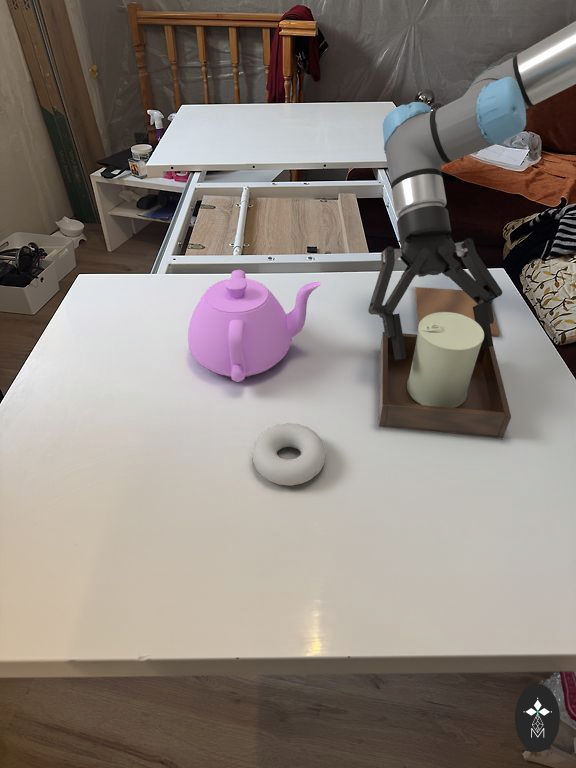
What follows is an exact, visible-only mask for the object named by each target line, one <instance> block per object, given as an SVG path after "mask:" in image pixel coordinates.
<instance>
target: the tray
mask: <svg viewBox="0 0 576 768" xmlns="http://www.w3.org/2000/svg"><path fill="white" fill-rule="evenodd" d="M402 333H403V339H404V346H405V352H406V358H405V359H401V360H396V361H395V358H394V351H393V345H392V339H391V338H386V336H385V331H382V334H381V341H380V348H379V382H378V383H379V384H378V385H379V387H378V388H379V389H378V390H379V391H378V392H379V393H378V394H379V395H378V399H379V400H378V427H381V428H389V429H390V428H391V429H402V430H410V431H411V430H412V431H423V432H432V433H433V432H434V433H444V434H454V435H466V436H475V437H485V438H496V439H504V437H505V433H506V431H507V430H508V426H509V424H510V422H511V419H512V414H511V411H510V410H511V409H510V407H509V402H508V398H507V393H506V390H505V386H504V382H503V377H502V373H501V370H500V366H499V362H498V358H497V354H496V350H495V345H494V344H493V346H491V347H487V348H482V349H480V350H479V353H478V356H477V360H476V363H475V366H474V369H473V373H472V376H471V379H470V383H469V386H468V390H467V397H466V400H465V401H464V402H463V403H462V404H461V405H460V406H458V407H456V408H450V407H439V406H428V405H421V404H419V403H418V402H416V401H415V400H414V399H413V398H412V397H411V396H410V395H409V393H408V390H407V381H408V379H409V376H410V371H411V367H412V362H413V356H414V351H415V346H416V341H417V335H418V333H417V334H416V333H406V332H405V333H404V332H402Z"/></svg>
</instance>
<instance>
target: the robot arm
mask: <svg viewBox="0 0 576 768" xmlns="http://www.w3.org/2000/svg"><path fill="white" fill-rule="evenodd" d="M574 85H576V20H575V21H573V22H572V23H569V24H568V25H566V26H565V27H563V28H561V29H559V30H557V31H556V32H554V33H553V34H551V35H549V36H547V37H545V38H543V39H542V40H540V41H539V42H537V43H535V44H533V45H532V46H530V47H528V48H526V49H524V50H523V51H521V52H520V53H518V54H517V55H515V56H514V57H513V56H512V57H511V58H509V59H508V60H506V61H504V62H502V63H501V64H499V65H494V66H491V67H489V68H487V69H485V70H484V71H483V72H481V73H479V74H478V75H476V77H475V78H474V79H473V80H472V82H471V83H470V85H469V88H468V89H467V91H466V92H465V93H464V94H463V96H461V97H459V98H457V99H455V100H453V101H451V102H449V103H447V104H445V105H443V106H440V107H439V108H436V109H435V110H432V109H431V107H430V105H429V104H427V103H425V102H422V101H412V102H410V103H408V104H401V105H399V106H397V107H395V108H393V109H392V110H391V111H390V112H388V114H387V115H386V116H385V118H384V119H383V122H382V135H383V150H384V154H385V158H386V159H385V160H386V164H387V170H388V175H389V180H390V188H391V195H392V201H393V207H394V214H395V216H396V218H397V221H396V227H397V234H398V240H399V244H400V248H394V247H393V246H391V245H389V246H387V247H386V248H385V249H384V250H383V251H382V252H381V254H380V259H381V261H380V263H381V267H380V271H379V274H378V277H377V280H376V283H375V286H374V289H373V292H372V296H371V299H370V301H369V306H368V309H367V312H368V314H369V315H377V316H378V317H379V318H381V319H382V325H383V330H384V331H383V332H385V336H386V338H391V339H392V345H393V351H394V358H395V361H396V360H401V359H405V358H406V352H405V346H404V339H403V333H404V332H403V328H402V322H401V315H400V313H394V312H395V310H396V309H397V307H398V305H399V304H400V302H401V300H402V298H403V297H404V295H405V293H406V292H407V290H408V289H409V287H410V285H411V283H412V282H413V280H414V278H415V277H416V276H418V277H419V278H423V277H426V276H438V275H440V274H443V276H444V277H446V278H449V279H450V280H451V281H452V282H453V283H454V284H456V285H457V287H459V288H460V290H463V291H464V292H465V293H466V294H468V295H469V296H470V297H471V298H472V299H473V300H474V301H475V302H476V303H477V304H478V305H476V306H474V307H473V312H474V318H475V322H477V323H478V324H479V325H480V326H481V328H482V329H483V331H484V340H483V342H482V344H481V347H480V349H482V348H487V347H491V346H493V345H494V340H493V336H492V334H491V328H490V324H493V322H494V317H495V316H494V317H493V313H494V310H493V311H492V309H493V306H492V303H493V301H494V300H496V299H497V298H499V297H501V296H502V295H503V289H502V287H500V285H499V284H498V283H497V281H496V280H495V278H494V277H493V275H492V273H491V272H490V270H489V268H488V267H487V266H486V264H485V263H484V262H483V260H482V259H481V257H480V255H479V253H478V252H477V250H476V247H475V243H474V240H473V239H472V238H471V237H469V238H466V239H464V240H463V241H459V242H454V241H453V239H452V227H451V222H450V215H449V210H448V208H446V206H447V203H448V202H447V197H446V190H445V186H444V179H443V172H442V167H443V166H444V165H446V164H449V163H450V164H451V163H452V162H454V161H457V160H460V159H462V158H464V157H467V156H470V155H472V154H474V153H477V152H480V151H482V150H485V149H488V148H490V147H493V146H495V145H496V146H497V145H501V144H502V143H504V142H505V141H507V140H509V139H512V138H513V137H515V136H517V135H519V134H521V133H522V132H524V130H525V128H526V126H527V113H526V112H527V111H526V110H527V109H529V108H531V107H533V106H535V105H537V104H538V103H541V102H542V101H545V100H547V99H548V98H550V97H551V98H552V96H555V95H556V94H558V93H560V92H563V91H564V90H566V89H569V88H571V87H573V86H574ZM455 253H456V255H457V257H460V258H461V261H462V262H463V264H464V266H465V267H466V269H467V270H468V272H469V273H468V272H467V271H466V269H464V268H463V267H462V265H461V263H460V261H458V260H457V259H456V258H455V257H454V255H455ZM399 259H400V261H402V262H403V264H405V266H406V268H405V269H404V270H403V273H402V274H401V276H400V278H399V280H398V281H397V284H396V285H395V287H394V289H393V290H392V292H391V293H390V295H389V297H388V298H387V300H386V302H385V304H384V300H385V296H386V295H387V294H386V293H387V290H388V287H389V284H390V280H391V278H392V274H393V272H394V267H395V264H397V262H398V261H399ZM383 304H384V305H383Z"/></svg>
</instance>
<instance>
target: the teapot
mask: <svg viewBox="0 0 576 768" xmlns="http://www.w3.org/2000/svg"><path fill="white" fill-rule="evenodd" d="M246 277H247V276H246V272H245V271H244V270H242V269H234V270H233V271H231V274H230V278H227V279H226V278H225V279H223V280H220V281H218V282H215V283H213V284H212V285H210V286H208V288H207V289H206V290H205V292H204V293H203V295H201V297H200V299H199V301H198V302H197V304H196V306H195V308H194V310H193V312H192V314H191V317H190V320H189V324H188V330H187V344H188V349H189V352H190V354H191V356H192V357H193V358H194V360H195V361H196V362H197V363H198V364H200V365H201V366H202V367H204V368H206V369H207V370H209V371H210V372H214V373H216V374H218V375H221V376H225V377H230V378H231V381H234V382H236V383H239V382H242V381H244V380H245V379H246V377H250V376H255V375H259V374H262V373H264V372H266V371H268V370H269V369H271V368H273V367H274V366H276V365H277V364H278V363H279V362H280V361H282V359H284V358H285V356H286V355H287V353H288V351H289V349H290V347H291V344H292V339H293V338H295V337H296V336H297V335H298V334H299V333H301V331H302V329H303V328H304V326H305V323H306V318H307V307H308V301H309V297H310V295H311V294H312V293H313V291H315V290H316V289H318V287H320V286H321V285H322V281H313V282H309V283H306V284H305V285H302V286H301V287H300V288H299V289H298V291H297V293H296V297H295V303H294V307H293V309H292V310H290V311H289V312H288V313H286V311H285V309H284V308H283V306H282V305H281V302H279V300H278V299H277V298H276V296H275V295H274V294H273V293H272V291H271V290H270V289H269V288H268V287H267V286H266V285H264V284H263V283H262V282H260V281H258V280H256V279H255V280H254V279H251V278H246Z"/></svg>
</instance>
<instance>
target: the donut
mask: <svg viewBox="0 0 576 768" xmlns="http://www.w3.org/2000/svg"><path fill="white" fill-rule="evenodd" d="M284 448H294V449H296V450H298V451H299V452H300V455H299V456H298V457H296V458H295V457H294V458H291V459H288V458H287V459H286V458H283V457H280V456H279V455H278V451H280V450H282V449H284ZM326 454H327V451H326V446H325V443H324V441H323V439H322V438H321V437H320V436H319V435H318V433H317V432H316V431H314V430H313V429H311V427H308V426H305V425H303V424H300V423H294V422H293V423H292V422H284V423H278V424H275V425H272V426H270V427H268V428H266V429H264V431H263V432H261V433H260V434H259V436H257V438H256V439H255V441H254V443H253V447H252V451H251V456H252V462H253V466H254V467H255V469H256V470H257V472H258V473H259V474H260V475H261V476H262V477H263V478H265V479H266V480H268V482H272V483H274V484H277V485H280V486H295V485H303V484H304V483H306V482H309V481H310V480H312V479H314V477H315V476H317V475H318V474H319V473H320V472H321V470H322V468H323V466H324V465H325V462H326V456H327V455H326Z"/></svg>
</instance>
